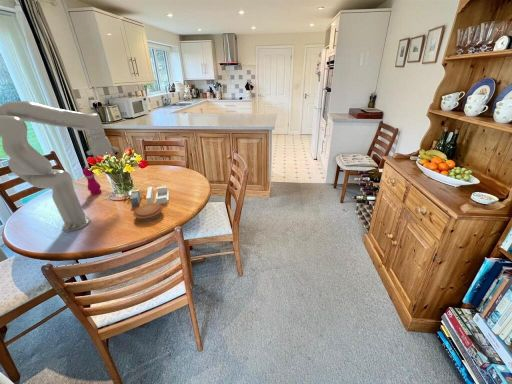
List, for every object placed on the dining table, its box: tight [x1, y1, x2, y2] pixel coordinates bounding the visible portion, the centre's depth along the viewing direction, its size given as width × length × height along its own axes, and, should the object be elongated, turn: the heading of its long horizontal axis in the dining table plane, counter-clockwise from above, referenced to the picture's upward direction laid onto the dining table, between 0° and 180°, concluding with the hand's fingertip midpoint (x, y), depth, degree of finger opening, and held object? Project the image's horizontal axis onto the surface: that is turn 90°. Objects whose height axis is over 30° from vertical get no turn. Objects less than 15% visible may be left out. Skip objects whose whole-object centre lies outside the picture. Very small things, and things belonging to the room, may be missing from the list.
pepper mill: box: [82, 165, 103, 196], centre depth 156 cm, size 7×7×20 cm
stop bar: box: [129, 189, 142, 207], centre depth 148 cm, size 11×4×6 cm, turn 18°
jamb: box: [145, 185, 170, 205], centre depth 151 cm, size 17×12×5 cm
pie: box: [132, 202, 164, 222], centre depth 133 cm, size 16×16×5 cm
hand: (107, 163), depth 146 cm, fingers open, 9 cm apart
